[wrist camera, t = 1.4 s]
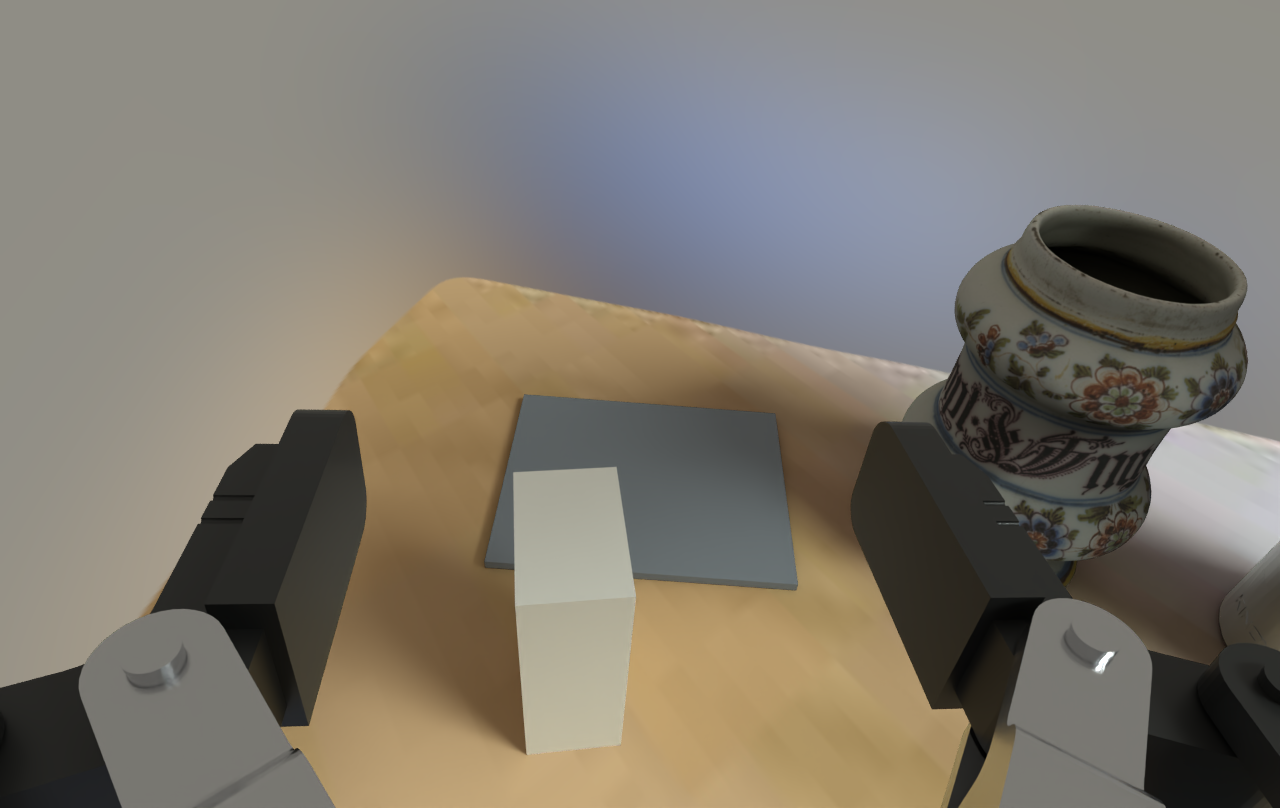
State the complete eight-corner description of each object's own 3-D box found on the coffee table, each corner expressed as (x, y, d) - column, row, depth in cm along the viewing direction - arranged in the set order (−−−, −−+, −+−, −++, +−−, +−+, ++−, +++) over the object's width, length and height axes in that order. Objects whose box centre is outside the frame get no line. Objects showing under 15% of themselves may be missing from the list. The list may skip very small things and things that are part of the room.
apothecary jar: (1086, 488, 46) (1266, 218, 34) (1103, 656, 38) (1351, 374, 26) (884, 432, 49) (987, 163, 37) (858, 577, 40) (980, 287, 28)
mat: (773, 419, 49) (775, 413, 49) (796, 590, 40) (798, 584, 39) (524, 400, 49) (524, 394, 49) (485, 567, 39) (484, 561, 39)
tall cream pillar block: (606, 623, 37) (616, 466, 30) (620, 745, 33) (635, 596, 26) (523, 629, 37) (513, 472, 30) (526, 754, 32) (514, 606, 25)
